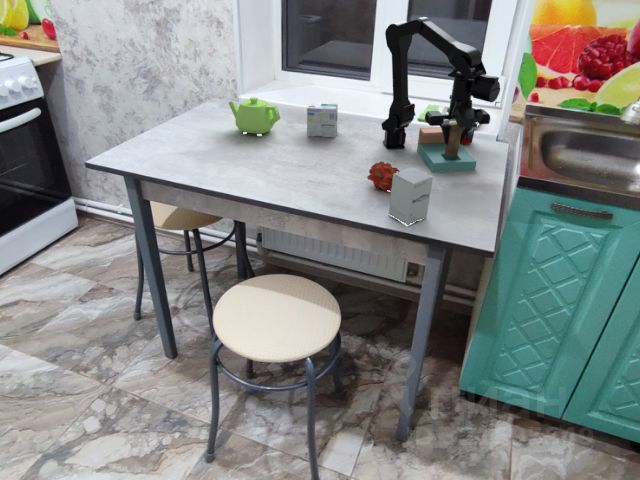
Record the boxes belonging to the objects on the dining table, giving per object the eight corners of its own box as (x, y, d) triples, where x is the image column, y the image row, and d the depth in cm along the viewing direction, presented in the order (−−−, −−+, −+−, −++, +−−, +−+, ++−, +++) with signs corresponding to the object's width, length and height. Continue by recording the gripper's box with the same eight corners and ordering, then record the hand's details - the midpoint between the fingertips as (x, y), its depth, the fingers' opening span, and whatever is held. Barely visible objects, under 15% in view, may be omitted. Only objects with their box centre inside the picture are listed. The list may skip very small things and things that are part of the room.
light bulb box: (337, 131, 178) (338, 102, 172) (335, 138, 172) (336, 108, 166) (309, 130, 179) (308, 101, 173) (306, 136, 173) (306, 107, 167)
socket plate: (432, 171, 149) (435, 148, 145) (416, 150, 163) (419, 127, 159) (474, 170, 151) (479, 146, 146) (456, 148, 165) (460, 126, 160)
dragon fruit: (367, 185, 145) (400, 202, 140) (357, 179, 138) (391, 197, 132) (380, 160, 144) (414, 176, 139) (371, 152, 136) (406, 169, 131)
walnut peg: (447, 157, 149) (452, 126, 144) (442, 152, 153) (447, 121, 147) (459, 156, 150) (465, 126, 144) (454, 151, 153) (460, 121, 147)
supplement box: (407, 228, 122) (413, 184, 115) (387, 215, 127) (392, 173, 120) (427, 219, 126) (434, 176, 119) (407, 207, 131) (412, 165, 124)
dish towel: (475, 132, 179) (477, 123, 177) (416, 122, 187) (417, 113, 185) (484, 118, 192) (485, 109, 190) (428, 109, 200) (429, 101, 198)
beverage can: (472, 147, 166) (479, 113, 159) (452, 145, 167) (458, 112, 160) (471, 139, 171) (477, 107, 165) (452, 138, 172) (457, 105, 166)
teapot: (223, 134, 175) (219, 100, 168) (240, 122, 185) (237, 89, 178) (272, 141, 169) (270, 107, 162) (287, 129, 179) (286, 95, 172)
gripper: (439, 104, 133) (431, 155, 142) (503, 102, 135) (491, 153, 144) (427, 92, 142) (421, 141, 151) (487, 90, 144) (477, 139, 153)
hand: (452, 143), depth 149 cm, fingers closed on walnut peg, 4 cm apart
